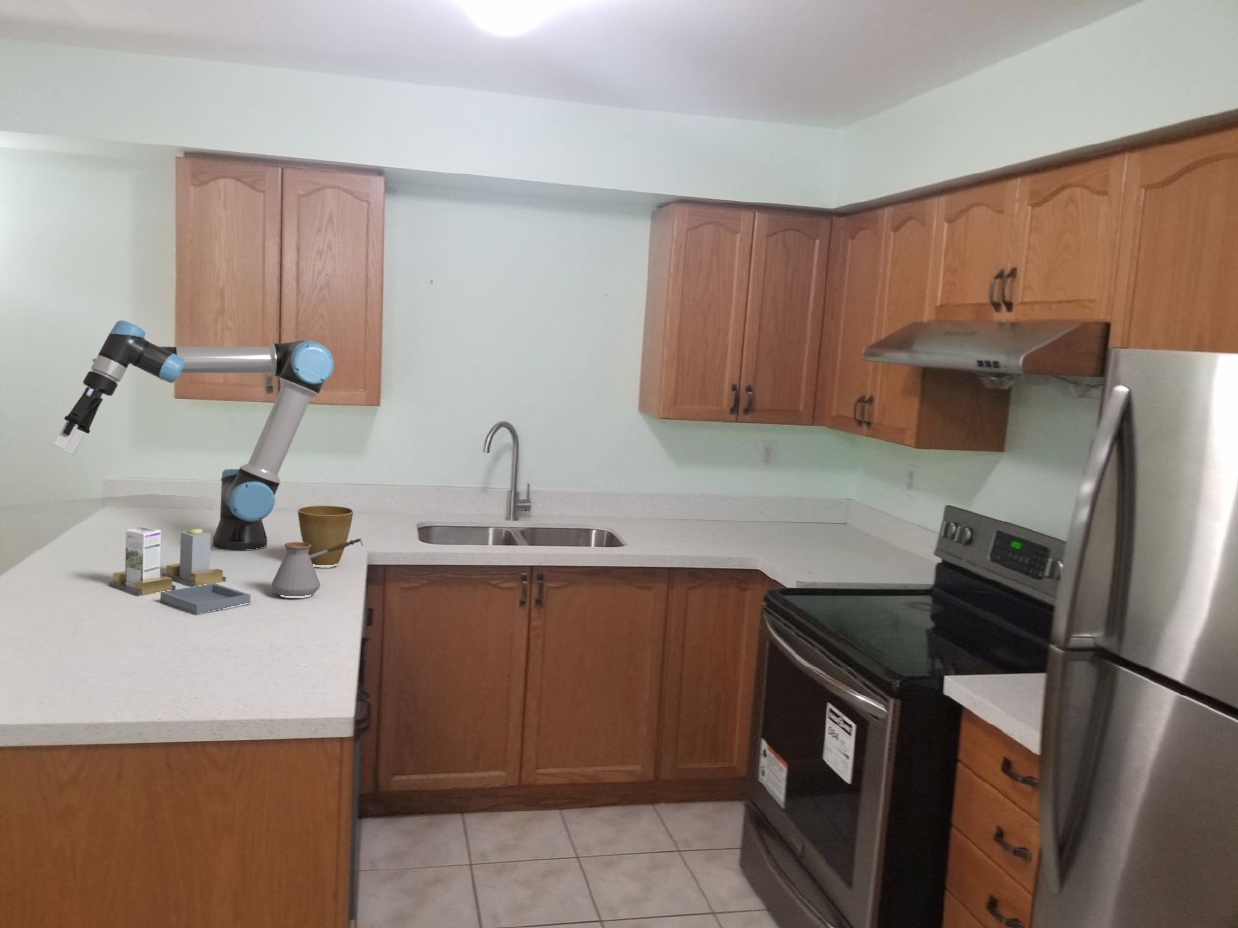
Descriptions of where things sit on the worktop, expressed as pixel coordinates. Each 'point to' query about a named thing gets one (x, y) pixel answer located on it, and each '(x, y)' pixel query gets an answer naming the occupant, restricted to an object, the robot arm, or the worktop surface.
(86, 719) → the worktop surface
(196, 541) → the grey block
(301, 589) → the coffee pot
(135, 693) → the worktop surface
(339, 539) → the plant pot
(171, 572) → the clips
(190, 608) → the tray
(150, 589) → the tan block holder
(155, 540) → the syrup box
